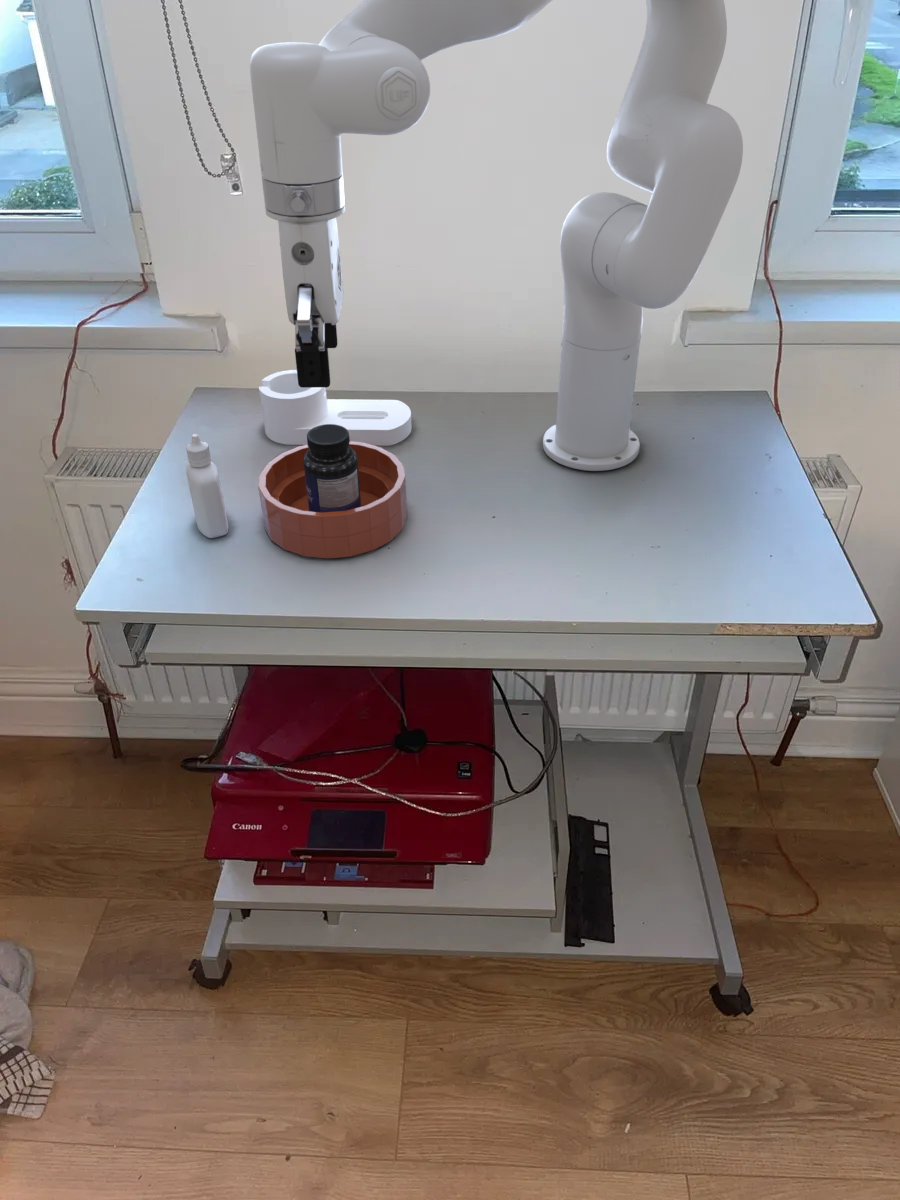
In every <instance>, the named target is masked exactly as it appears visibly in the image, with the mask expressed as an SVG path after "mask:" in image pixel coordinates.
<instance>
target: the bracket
mask: <svg viewBox="0 0 900 1200" xmlns="http://www.w3.org/2000/svg"><path fill="white" fill-rule="evenodd" d="M258 391H259V397H260V398H259V399H260V404H261V412H262V418H263V424H264V425H263V426H264V433H265V435H266V437H267V438H268V439H269V440H270V441H273V442H275V443H278V444H281V445H289V446H290V445H291V446H295V445H296V446H303V445H307V433H308V432H309V431H310V430H311V429H312V428H314V427H317V426H320V425H325V424H335V425H340V426H342V427H345V428H346V429H347V430H348V432H349V438H350V441H353V442H363V443H367V444H371V445H374V446H378V447H383V446H384V447H385V446H386V447H387V446H388V447H389V446H394V445H396V444H398V443H401V442H402V441H404V440H406V439H407V438H408V437H409V436H410V434H411V433H412V412H411V408H410V407H409V406H408V405H407V404H406V403H405V402H403V401H401V400H398V399H353V398H351V399H349V398H348V399H347V398H346V399H345V398H344V399H342V398H341V399H338V398H335V399H333V398H331V399H330V398H328V396H327V387H311V388H302V387H300V386H299V385H298V377H297V369H287V370H281V371H277V372H274V373H271V374H269V375H267V376H266V377H264V378H262V380H261V386H258Z"/></svg>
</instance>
